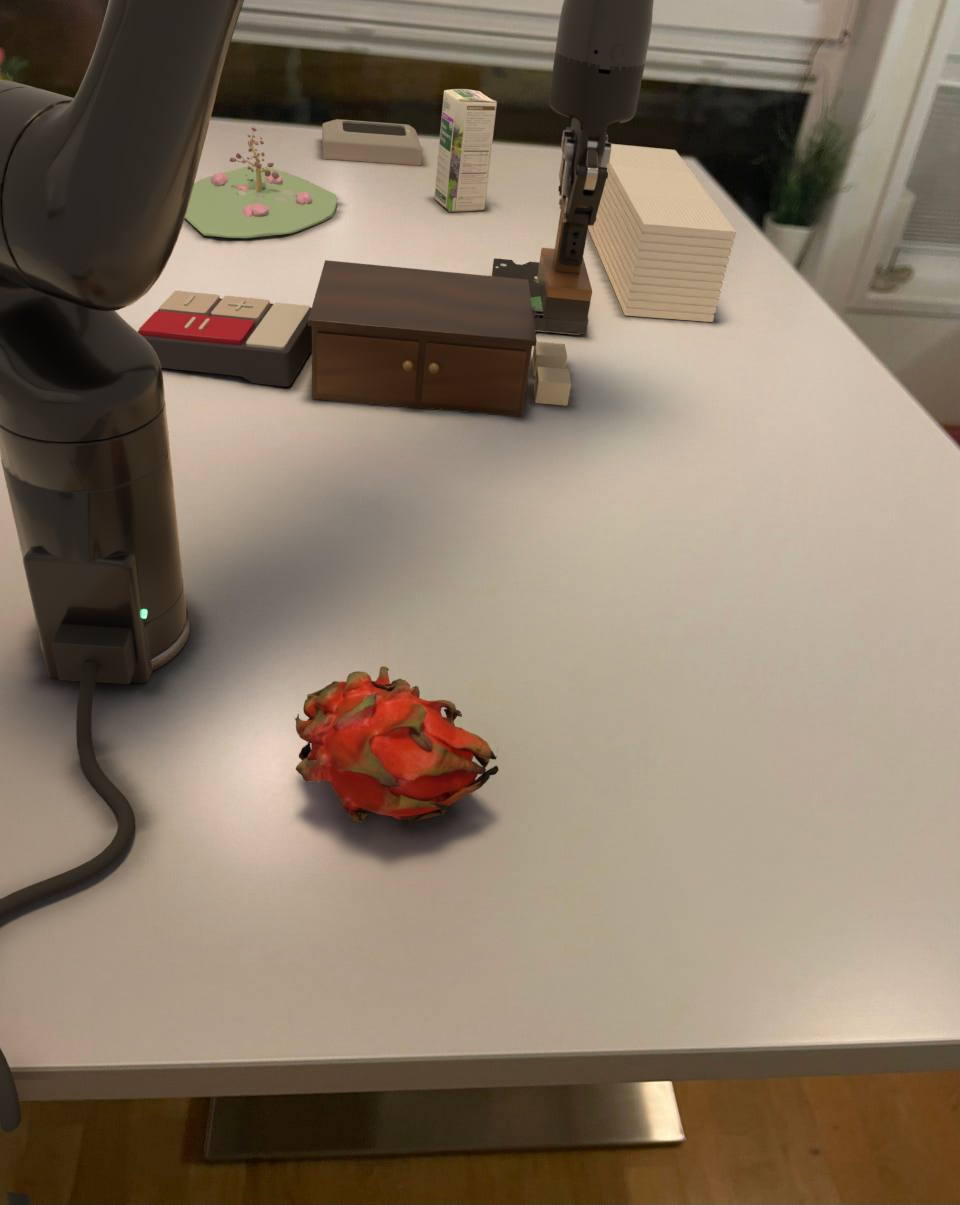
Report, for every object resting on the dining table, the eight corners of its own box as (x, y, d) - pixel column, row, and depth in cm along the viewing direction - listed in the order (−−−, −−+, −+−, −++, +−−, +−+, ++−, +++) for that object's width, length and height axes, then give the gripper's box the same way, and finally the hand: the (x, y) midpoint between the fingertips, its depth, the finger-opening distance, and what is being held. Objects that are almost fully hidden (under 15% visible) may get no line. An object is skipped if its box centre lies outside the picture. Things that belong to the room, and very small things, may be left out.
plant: (331, 249, 126) (332, 173, 120) (160, 235, 123) (153, 157, 118) (339, 186, 145) (341, 118, 140) (192, 173, 143) (187, 104, 137)
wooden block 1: (536, 354, 103) (533, 376, 104) (567, 357, 103) (563, 378, 105) (534, 340, 105) (531, 362, 107) (565, 343, 106) (561, 364, 107)
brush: (586, 322, 93) (604, 224, 88) (543, 318, 93) (559, 219, 88) (576, 281, 101) (592, 188, 96) (537, 277, 101) (550, 183, 95)
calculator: (171, 285, 103) (316, 300, 102) (177, 326, 106) (318, 340, 105) (129, 329, 95) (287, 345, 94) (137, 371, 97) (290, 387, 97)
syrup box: (432, 199, 145) (440, 88, 136) (470, 197, 147) (480, 88, 138) (448, 212, 141) (458, 99, 132) (486, 211, 143) (498, 99, 134)
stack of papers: (712, 322, 120) (736, 231, 114) (624, 315, 119) (643, 223, 112) (658, 229, 145) (675, 149, 138) (585, 222, 144) (598, 142, 137)
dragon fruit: (286, 771, 62) (471, 836, 62) (250, 805, 54) (464, 880, 53) (330, 640, 62) (517, 705, 61) (301, 653, 53) (517, 729, 53)
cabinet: (525, 422, 96) (537, 343, 91) (307, 403, 95) (307, 322, 90) (518, 352, 108) (528, 279, 103) (324, 334, 107) (325, 259, 102)
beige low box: (322, 115, 160) (417, 123, 162) (322, 140, 162) (415, 147, 164) (323, 132, 152) (422, 140, 155) (323, 158, 155) (421, 165, 157)
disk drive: (489, 280, 124) (495, 329, 112) (491, 257, 122) (498, 305, 110) (572, 287, 125) (588, 337, 113) (576, 264, 123) (592, 312, 111)
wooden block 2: (538, 380, 98) (535, 403, 100) (571, 383, 98) (567, 406, 100) (536, 366, 101) (533, 388, 102) (568, 369, 101) (565, 390, 102)
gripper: (550, 30, 89) (524, 228, 100) (562, 64, 78) (532, 282, 89) (634, 40, 90) (599, 236, 100) (658, 75, 79) (616, 291, 90)
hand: (568, 257), depth 95 cm, fingers closed on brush, 2 cm apart
